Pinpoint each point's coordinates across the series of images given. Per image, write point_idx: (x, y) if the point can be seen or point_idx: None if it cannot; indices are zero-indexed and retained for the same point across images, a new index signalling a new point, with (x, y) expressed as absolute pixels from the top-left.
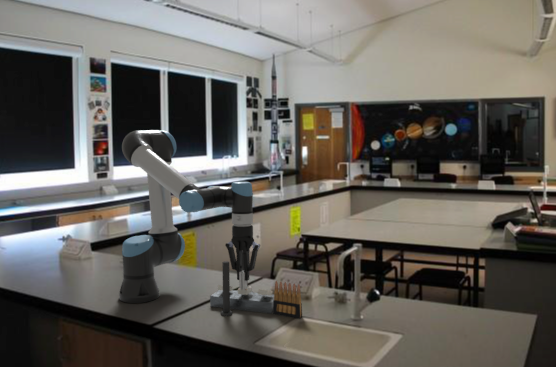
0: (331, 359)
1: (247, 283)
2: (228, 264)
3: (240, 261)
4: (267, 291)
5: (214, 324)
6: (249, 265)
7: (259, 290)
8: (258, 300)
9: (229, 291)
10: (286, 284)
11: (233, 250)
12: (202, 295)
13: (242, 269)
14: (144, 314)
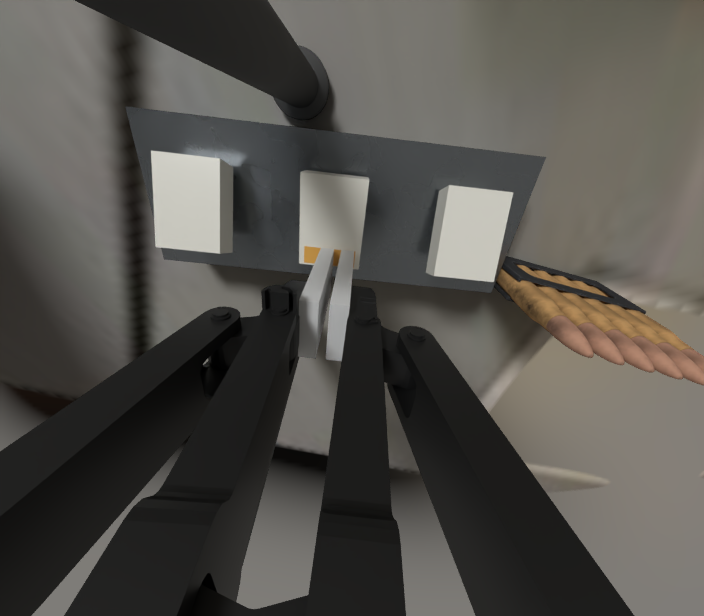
0: (601, 481)
1: (302, 65)
2: (246, 547)
3: (277, 411)
4: (487, 281)
5: (301, 385)
6: (398, 414)
7: (437, 275)
8: (424, 275)
9: (294, 369)
10: (646, 359)
11: (16, 534)
12: (21, 61)
13: (220, 70)
14: (46, 357)
